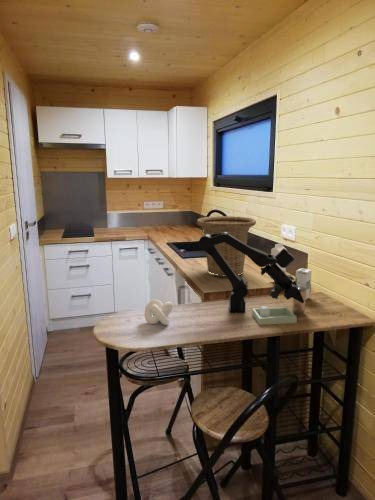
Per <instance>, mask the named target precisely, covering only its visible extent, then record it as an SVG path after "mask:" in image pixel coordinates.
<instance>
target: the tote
mask: <svg viewBox="0 0 375 500" xmlns="http://www.w3.org/2000/svg"><path fill="white" fill-rule="evenodd" d="M251 314H252V316H253V318H254V320H256V323H258V325H259V326H261V325H282V324H283V325H284V324H297V322H298V320H297V319H298V316H297V315H294V314H293V313H292V310H290V308H289V307H287V306H285V307H282V306H281V307H270V314H269V317H266V318H261V317H260V307H257V308H251Z"/></svg>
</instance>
